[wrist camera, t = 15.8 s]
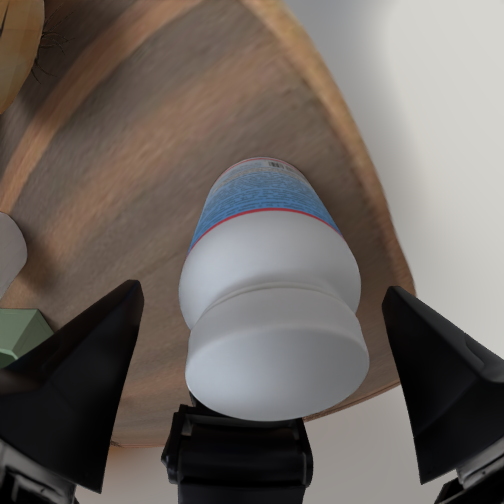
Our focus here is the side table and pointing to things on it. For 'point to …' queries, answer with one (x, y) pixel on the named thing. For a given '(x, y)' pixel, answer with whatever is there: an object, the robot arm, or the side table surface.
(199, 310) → the pill bottle
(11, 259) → the shot glass
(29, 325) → the chest
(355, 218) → the side table surface
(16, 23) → the sculpture
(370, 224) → the side table surface
